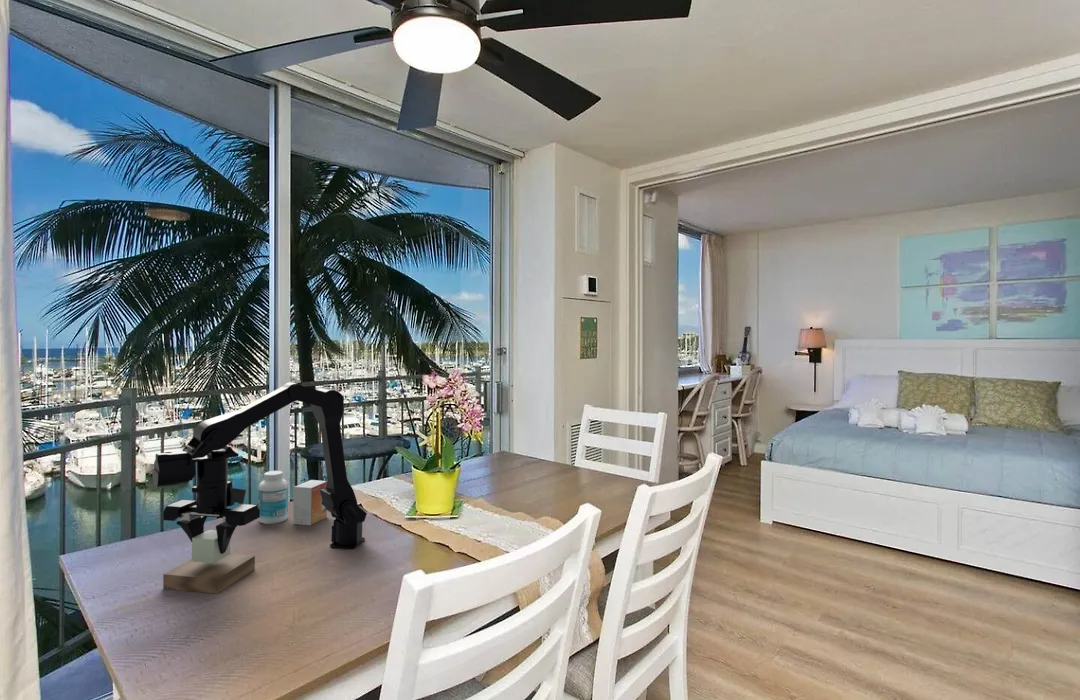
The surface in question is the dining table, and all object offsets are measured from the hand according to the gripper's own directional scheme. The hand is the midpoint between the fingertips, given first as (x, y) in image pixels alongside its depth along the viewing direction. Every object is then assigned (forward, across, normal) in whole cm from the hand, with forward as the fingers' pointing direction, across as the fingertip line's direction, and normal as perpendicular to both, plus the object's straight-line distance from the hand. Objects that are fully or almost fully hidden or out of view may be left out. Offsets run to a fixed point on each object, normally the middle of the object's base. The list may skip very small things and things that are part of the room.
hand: (211, 552), depth 119 cm
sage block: (+1, 0, 0) cm, 1 cm away
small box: (+6, -1, -38) cm, 38 cm away
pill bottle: (+6, +9, -36) cm, 38 cm away
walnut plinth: (+6, 0, 0) cm, 6 cm away
